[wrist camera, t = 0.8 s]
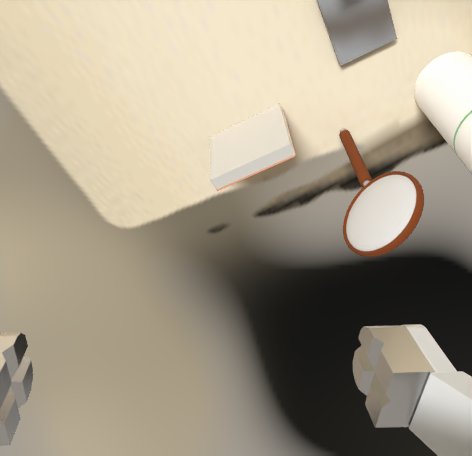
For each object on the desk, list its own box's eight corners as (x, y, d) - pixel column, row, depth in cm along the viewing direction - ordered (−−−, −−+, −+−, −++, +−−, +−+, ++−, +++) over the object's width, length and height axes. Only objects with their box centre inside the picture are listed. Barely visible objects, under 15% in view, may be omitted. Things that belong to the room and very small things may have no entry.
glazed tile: (279, 103, 50) (289, 143, 43) (284, 114, 51) (296, 156, 44) (210, 136, 52) (209, 180, 45) (216, 146, 53) (217, 191, 46)
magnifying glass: (322, 158, 55) (363, 277, 40) (312, 151, 54) (350, 270, 39) (375, 106, 50) (444, 218, 36) (365, 98, 50) (431, 209, 35)
